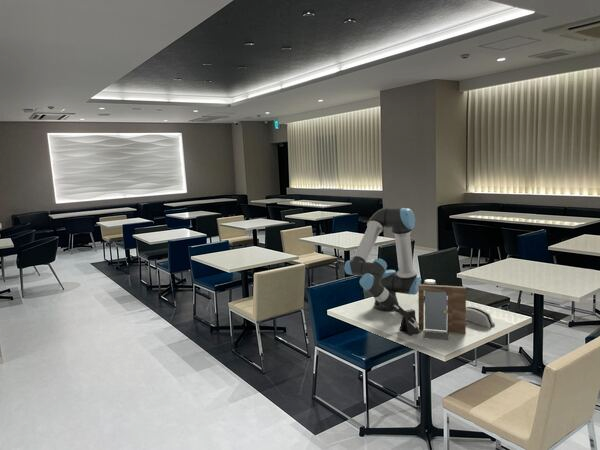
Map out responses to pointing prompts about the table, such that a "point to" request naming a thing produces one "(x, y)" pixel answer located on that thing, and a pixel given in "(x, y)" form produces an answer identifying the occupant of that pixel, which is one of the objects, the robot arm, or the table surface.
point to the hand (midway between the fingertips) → (410, 321)
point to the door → (436, 310)
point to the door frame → (454, 307)
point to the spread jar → (429, 283)
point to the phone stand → (408, 327)
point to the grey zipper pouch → (479, 316)
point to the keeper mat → (436, 335)
